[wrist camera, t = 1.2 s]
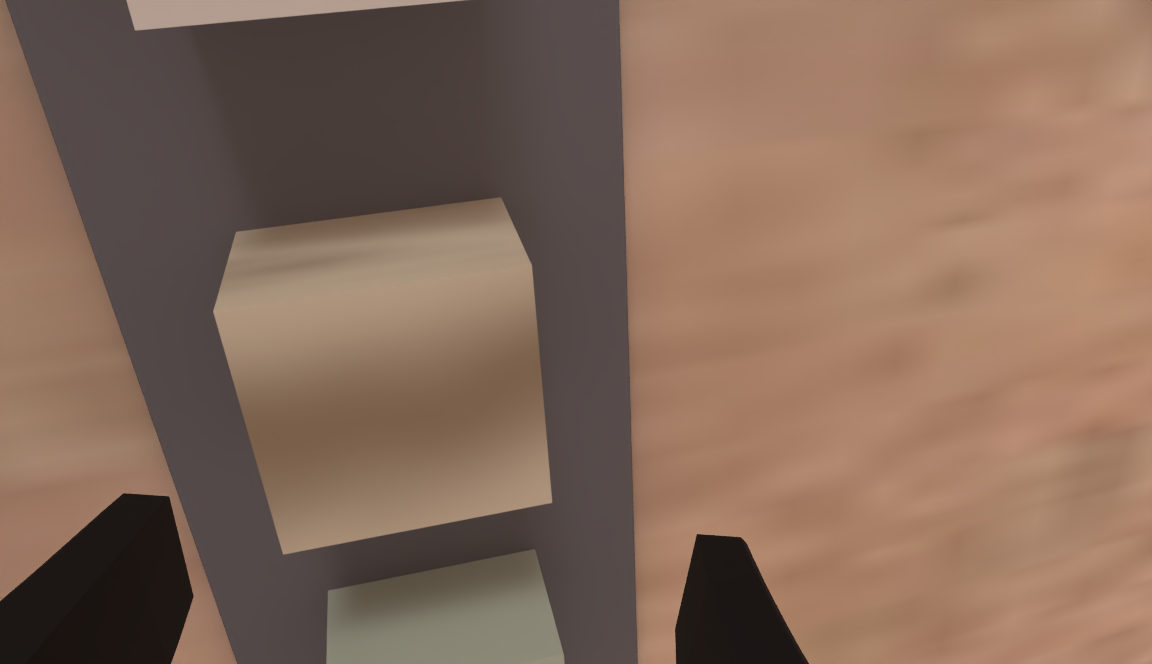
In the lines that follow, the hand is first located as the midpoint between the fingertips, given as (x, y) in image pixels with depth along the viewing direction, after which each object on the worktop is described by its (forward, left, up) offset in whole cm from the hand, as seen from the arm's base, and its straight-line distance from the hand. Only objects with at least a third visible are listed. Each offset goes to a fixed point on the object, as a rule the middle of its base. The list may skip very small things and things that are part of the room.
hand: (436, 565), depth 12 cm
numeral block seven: (-8, -9, -10) cm, 16 cm away
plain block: (-1, -1, -10) cm, 10 cm away
